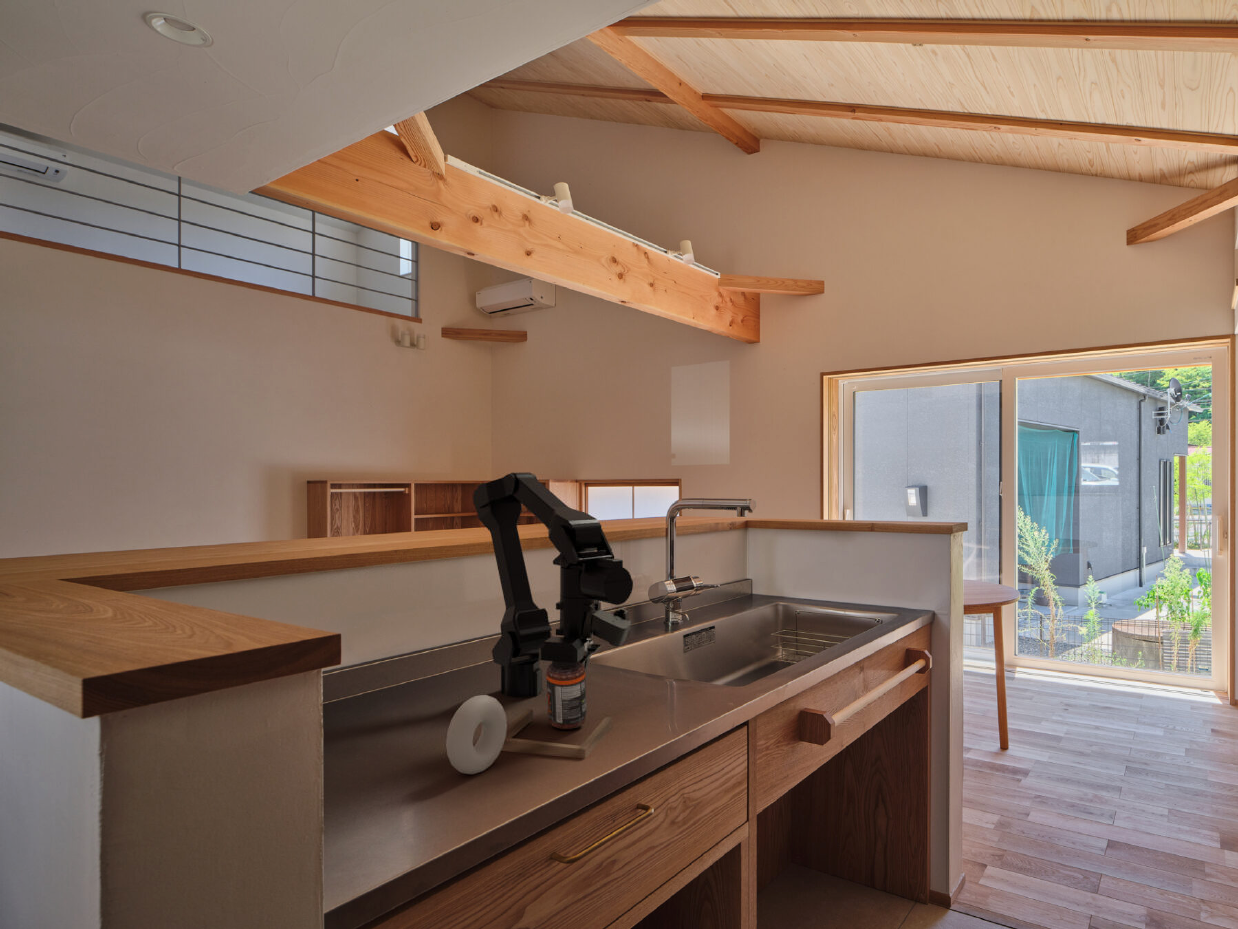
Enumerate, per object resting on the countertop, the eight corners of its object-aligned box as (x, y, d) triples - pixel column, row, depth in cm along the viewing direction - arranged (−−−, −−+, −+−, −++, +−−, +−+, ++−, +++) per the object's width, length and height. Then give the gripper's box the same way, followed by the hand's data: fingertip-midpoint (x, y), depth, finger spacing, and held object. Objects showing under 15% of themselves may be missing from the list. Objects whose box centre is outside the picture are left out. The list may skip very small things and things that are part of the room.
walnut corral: (491, 749, 105) (491, 738, 105) (527, 718, 117) (527, 709, 117) (585, 760, 101) (585, 749, 101) (612, 727, 114) (612, 717, 114)
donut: (459, 789, 92) (459, 709, 92) (440, 783, 94) (439, 704, 94) (512, 761, 101) (512, 688, 101) (493, 756, 102) (493, 684, 102)
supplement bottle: (547, 713, 118) (545, 645, 116) (585, 710, 118) (583, 643, 116) (548, 732, 112) (545, 661, 110) (588, 729, 112) (586, 658, 111)
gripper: (608, 610, 108) (608, 716, 108) (640, 588, 126) (640, 679, 126) (537, 605, 111) (537, 708, 112) (578, 584, 129) (578, 673, 129)
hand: (577, 691), depth 120 cm, fingers closed
